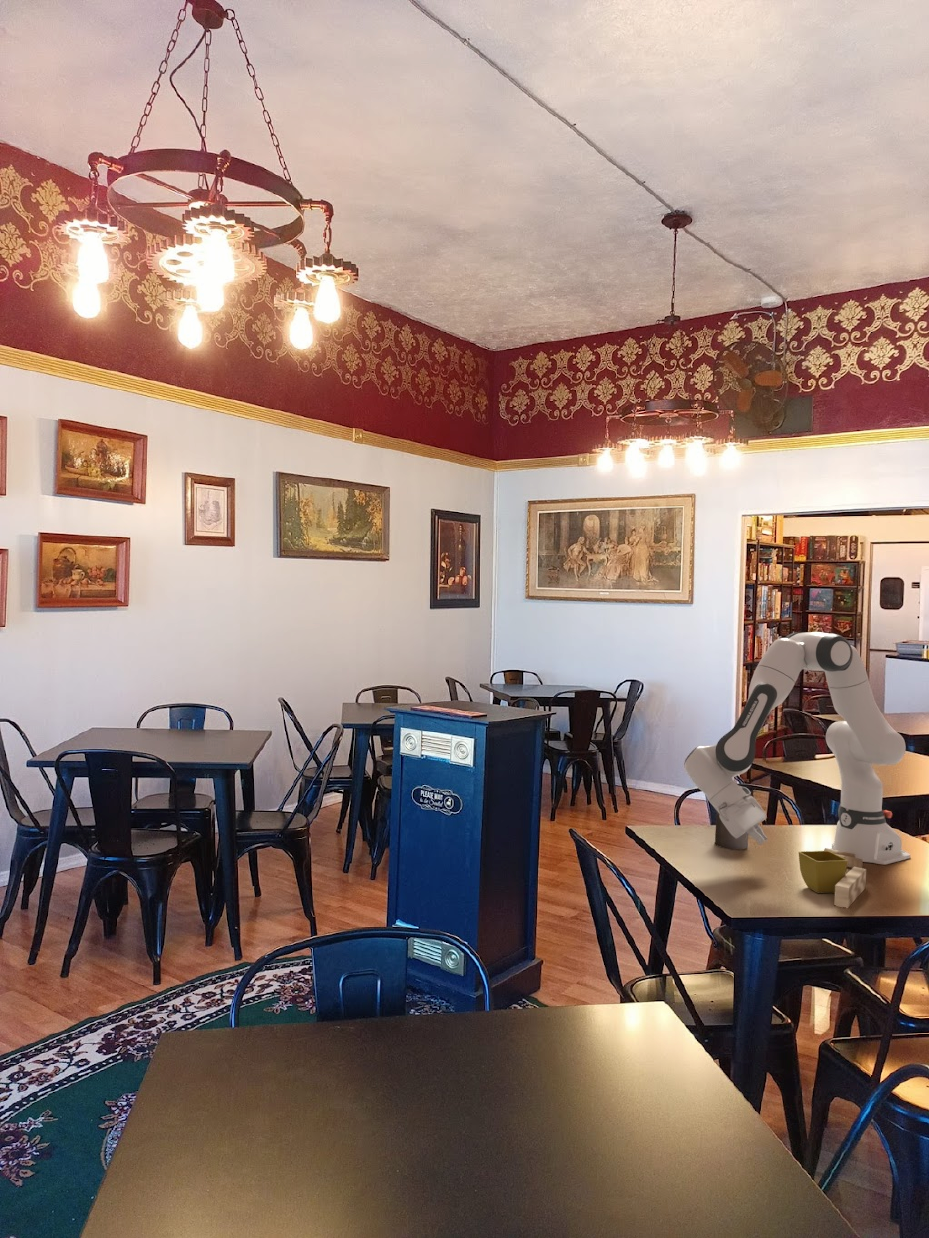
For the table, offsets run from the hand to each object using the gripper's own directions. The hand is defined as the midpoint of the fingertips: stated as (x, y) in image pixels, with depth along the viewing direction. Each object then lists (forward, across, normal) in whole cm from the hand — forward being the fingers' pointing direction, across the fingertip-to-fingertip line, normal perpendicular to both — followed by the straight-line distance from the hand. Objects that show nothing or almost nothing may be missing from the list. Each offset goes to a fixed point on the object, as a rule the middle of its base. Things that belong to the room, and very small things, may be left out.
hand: (764, 842), depth 236 cm
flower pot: (+18, -1, -4) cm, 18 cm away
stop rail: (+22, -1, -9) cm, 24 cm away
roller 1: (+14, +32, -3) cm, 35 cm away
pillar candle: (-5, +24, +19) cm, 31 cm away
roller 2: (+16, +28, -5) cm, 33 cm away
